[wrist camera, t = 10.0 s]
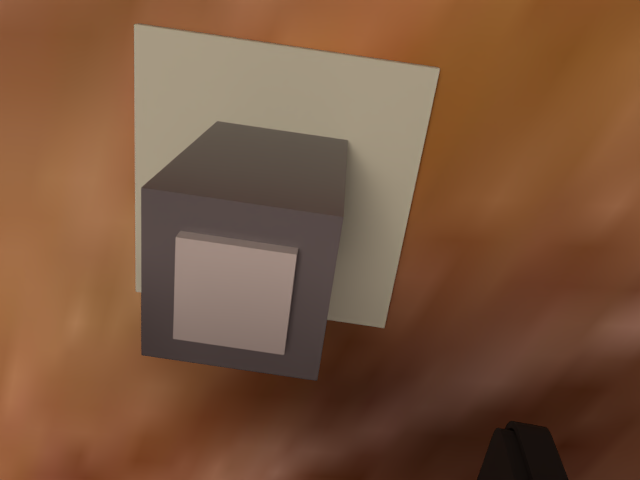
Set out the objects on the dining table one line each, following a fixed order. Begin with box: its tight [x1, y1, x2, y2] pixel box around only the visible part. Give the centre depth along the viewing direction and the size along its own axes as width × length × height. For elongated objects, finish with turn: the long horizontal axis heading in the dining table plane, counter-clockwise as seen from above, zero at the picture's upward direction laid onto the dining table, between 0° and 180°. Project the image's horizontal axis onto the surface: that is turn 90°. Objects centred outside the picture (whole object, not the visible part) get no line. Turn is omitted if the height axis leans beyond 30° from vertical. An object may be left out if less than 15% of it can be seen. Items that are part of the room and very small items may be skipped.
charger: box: [141, 121, 348, 381], centre depth 18 cm, size 5×5×8 cm
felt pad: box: [134, 24, 440, 328], centre depth 22 cm, size 11×11×1 cm
